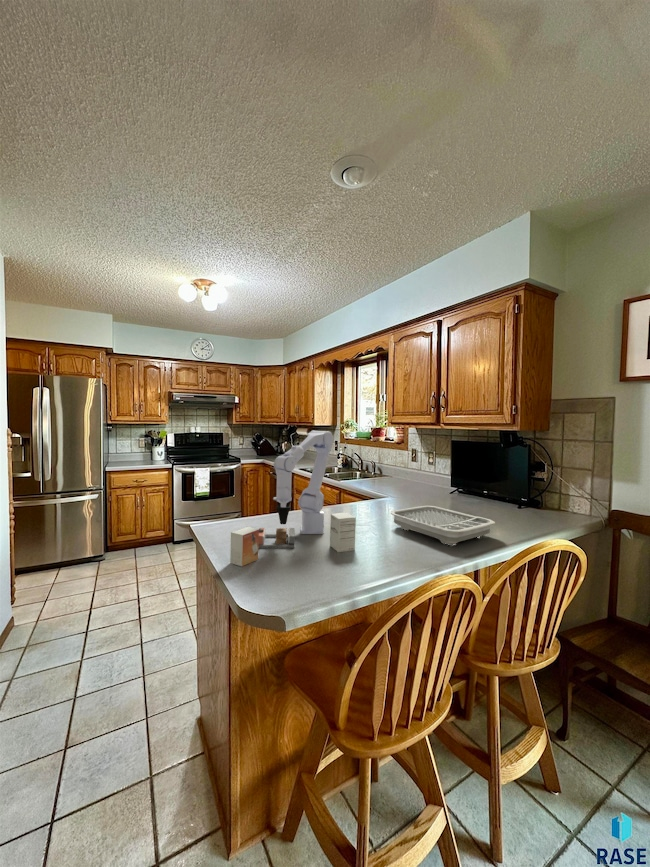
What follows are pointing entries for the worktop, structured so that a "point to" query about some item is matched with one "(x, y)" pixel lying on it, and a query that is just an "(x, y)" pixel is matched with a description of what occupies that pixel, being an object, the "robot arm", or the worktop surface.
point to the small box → (244, 546)
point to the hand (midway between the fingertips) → (283, 521)
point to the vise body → (290, 545)
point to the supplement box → (342, 532)
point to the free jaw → (261, 536)
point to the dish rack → (442, 523)
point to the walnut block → (281, 535)
